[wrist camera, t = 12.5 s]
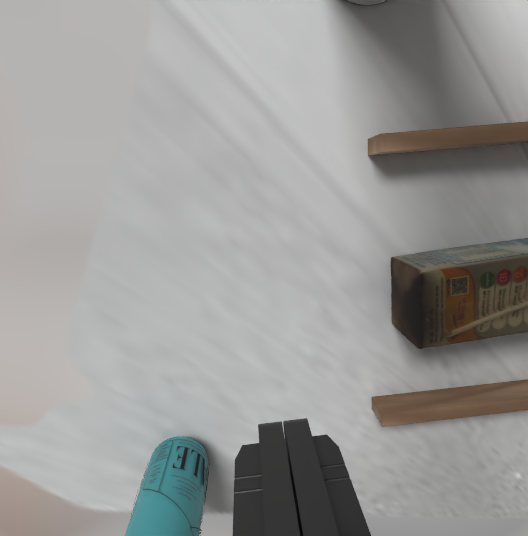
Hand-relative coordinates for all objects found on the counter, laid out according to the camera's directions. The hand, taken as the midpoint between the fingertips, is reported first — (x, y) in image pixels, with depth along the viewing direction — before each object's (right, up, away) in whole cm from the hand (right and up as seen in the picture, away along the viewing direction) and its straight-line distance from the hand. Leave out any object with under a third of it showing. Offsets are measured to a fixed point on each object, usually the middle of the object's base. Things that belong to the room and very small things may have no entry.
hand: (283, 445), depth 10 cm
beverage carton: (+22, +4, +26) cm, 34 cm away
